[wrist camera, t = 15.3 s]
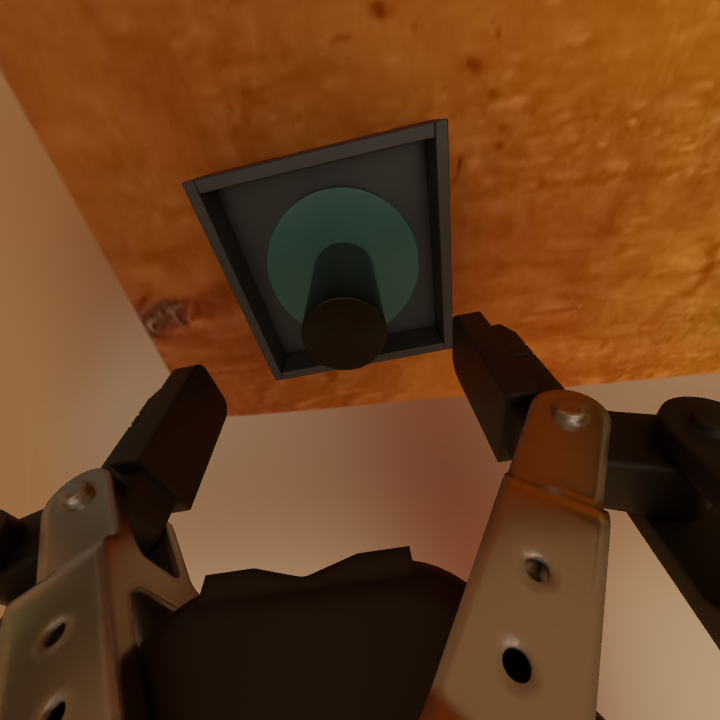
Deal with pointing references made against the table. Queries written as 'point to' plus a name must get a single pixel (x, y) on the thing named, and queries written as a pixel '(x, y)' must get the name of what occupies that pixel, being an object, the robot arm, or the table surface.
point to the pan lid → (343, 272)
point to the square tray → (325, 169)
